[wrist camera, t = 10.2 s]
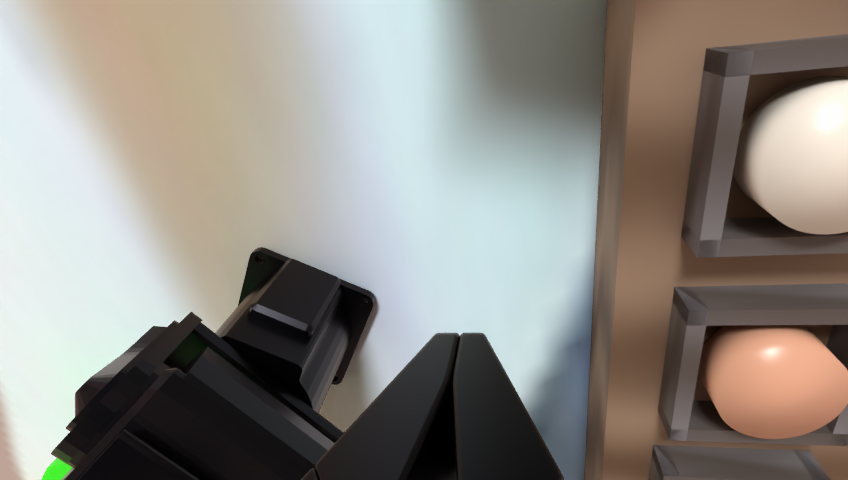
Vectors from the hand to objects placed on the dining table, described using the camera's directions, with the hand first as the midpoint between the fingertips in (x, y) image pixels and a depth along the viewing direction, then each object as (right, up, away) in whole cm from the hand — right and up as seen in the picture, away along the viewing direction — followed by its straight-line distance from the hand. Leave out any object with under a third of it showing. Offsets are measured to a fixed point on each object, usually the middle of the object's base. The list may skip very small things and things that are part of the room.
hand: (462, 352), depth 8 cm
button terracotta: (+12, -2, +9) cm, 15 cm away
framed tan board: (+12, 0, +13) cm, 18 cm away
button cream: (+11, +5, +6) cm, 13 cm away
